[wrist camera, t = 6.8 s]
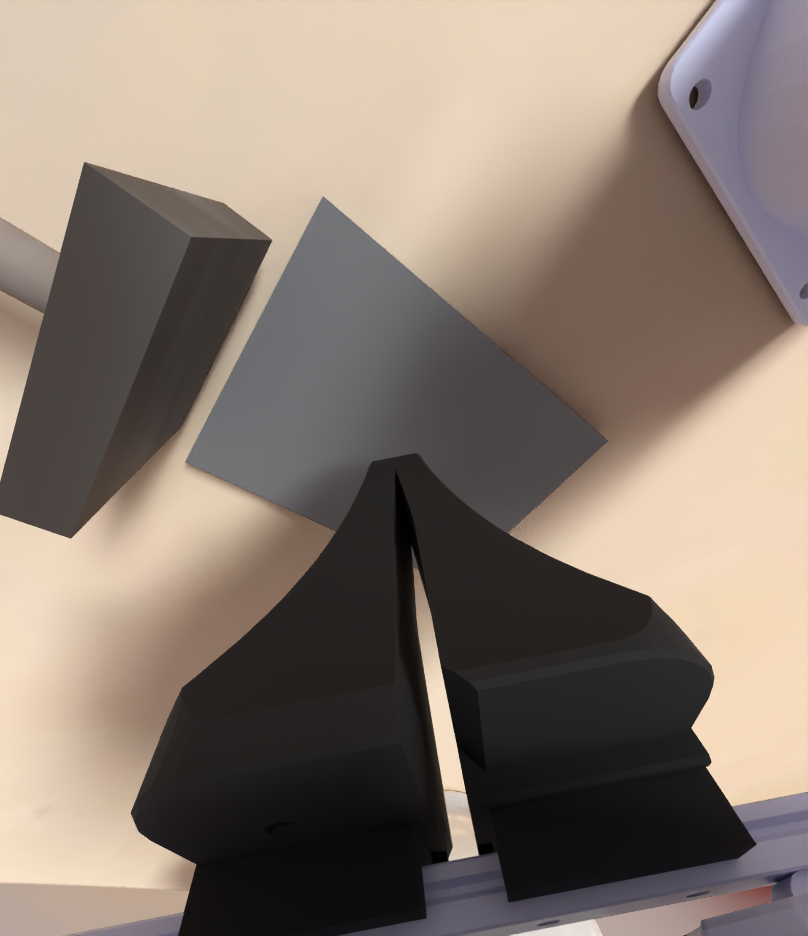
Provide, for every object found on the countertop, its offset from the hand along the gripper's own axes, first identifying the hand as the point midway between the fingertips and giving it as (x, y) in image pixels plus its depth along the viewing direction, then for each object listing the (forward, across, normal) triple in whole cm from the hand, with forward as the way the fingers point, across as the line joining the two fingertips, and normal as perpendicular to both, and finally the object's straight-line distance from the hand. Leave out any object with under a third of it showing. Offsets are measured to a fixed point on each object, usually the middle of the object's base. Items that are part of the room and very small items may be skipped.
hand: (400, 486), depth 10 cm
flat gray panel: (+3, 0, 0) cm, 3 cm away
